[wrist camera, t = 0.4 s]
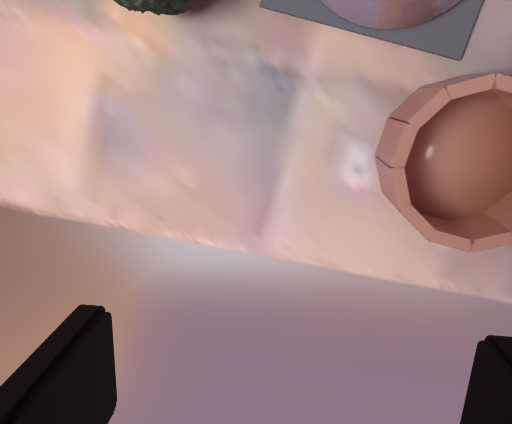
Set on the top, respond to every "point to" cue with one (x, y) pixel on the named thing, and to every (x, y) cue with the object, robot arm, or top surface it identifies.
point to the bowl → (452, 161)
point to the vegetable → (157, 6)
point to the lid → (387, 11)
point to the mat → (418, 36)
